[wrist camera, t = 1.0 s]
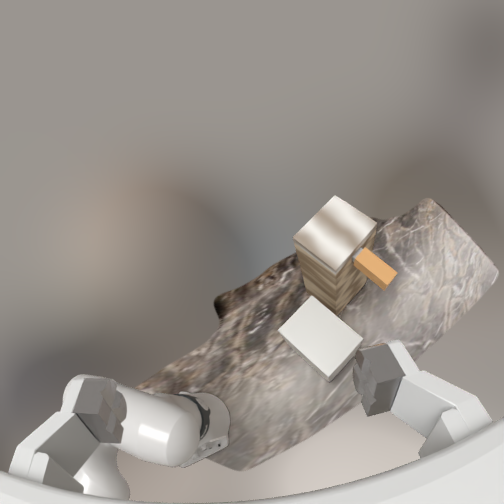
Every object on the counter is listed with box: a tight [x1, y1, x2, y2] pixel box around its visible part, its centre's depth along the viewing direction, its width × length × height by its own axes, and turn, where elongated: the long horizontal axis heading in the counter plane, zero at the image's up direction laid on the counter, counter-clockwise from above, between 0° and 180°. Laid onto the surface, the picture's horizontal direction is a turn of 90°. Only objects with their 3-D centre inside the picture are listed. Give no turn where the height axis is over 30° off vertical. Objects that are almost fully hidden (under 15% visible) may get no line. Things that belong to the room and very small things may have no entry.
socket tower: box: [293, 195, 377, 316], centre depth 67 cm, size 12×10×28 cm
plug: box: [352, 247, 397, 290], centre depth 55 cm, size 3×13×3 cm, turn 43°
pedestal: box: [278, 296, 363, 382], centre depth 67 cm, size 10×14×16 cm
